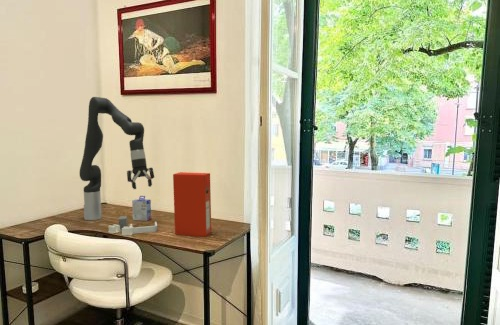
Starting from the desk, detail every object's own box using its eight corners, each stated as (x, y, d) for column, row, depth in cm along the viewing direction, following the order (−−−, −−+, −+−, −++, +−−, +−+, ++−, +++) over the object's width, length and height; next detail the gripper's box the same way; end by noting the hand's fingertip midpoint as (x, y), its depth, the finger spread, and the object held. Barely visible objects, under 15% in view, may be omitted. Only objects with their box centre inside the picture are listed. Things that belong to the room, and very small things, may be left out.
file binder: (205, 237, 169) (204, 175, 166) (174, 234, 173) (173, 174, 170) (211, 232, 177) (210, 173, 173) (181, 230, 181) (180, 172, 178)
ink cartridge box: (151, 218, 205) (151, 195, 204) (147, 221, 200) (146, 197, 198) (137, 217, 207) (136, 195, 206) (132, 220, 202) (131, 196, 200)
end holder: (129, 233, 175) (129, 228, 175) (130, 229, 183) (130, 223, 183) (157, 231, 179) (157, 226, 179) (156, 226, 188) (156, 221, 187)
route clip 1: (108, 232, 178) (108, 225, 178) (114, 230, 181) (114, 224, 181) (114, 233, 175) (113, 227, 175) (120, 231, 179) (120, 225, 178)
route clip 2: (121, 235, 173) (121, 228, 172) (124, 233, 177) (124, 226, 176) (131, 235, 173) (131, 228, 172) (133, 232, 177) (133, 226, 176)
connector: (119, 229, 183) (118, 219, 182) (120, 224, 193) (120, 214, 193) (126, 229, 184) (126, 218, 183) (127, 223, 194) (127, 213, 194)
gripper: (147, 157, 189) (151, 186, 189) (122, 160, 179) (127, 190, 179) (153, 156, 183) (157, 185, 183) (128, 159, 174) (132, 189, 174)
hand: (142, 187), depth 181 cm, fingers open, 8 cm apart
